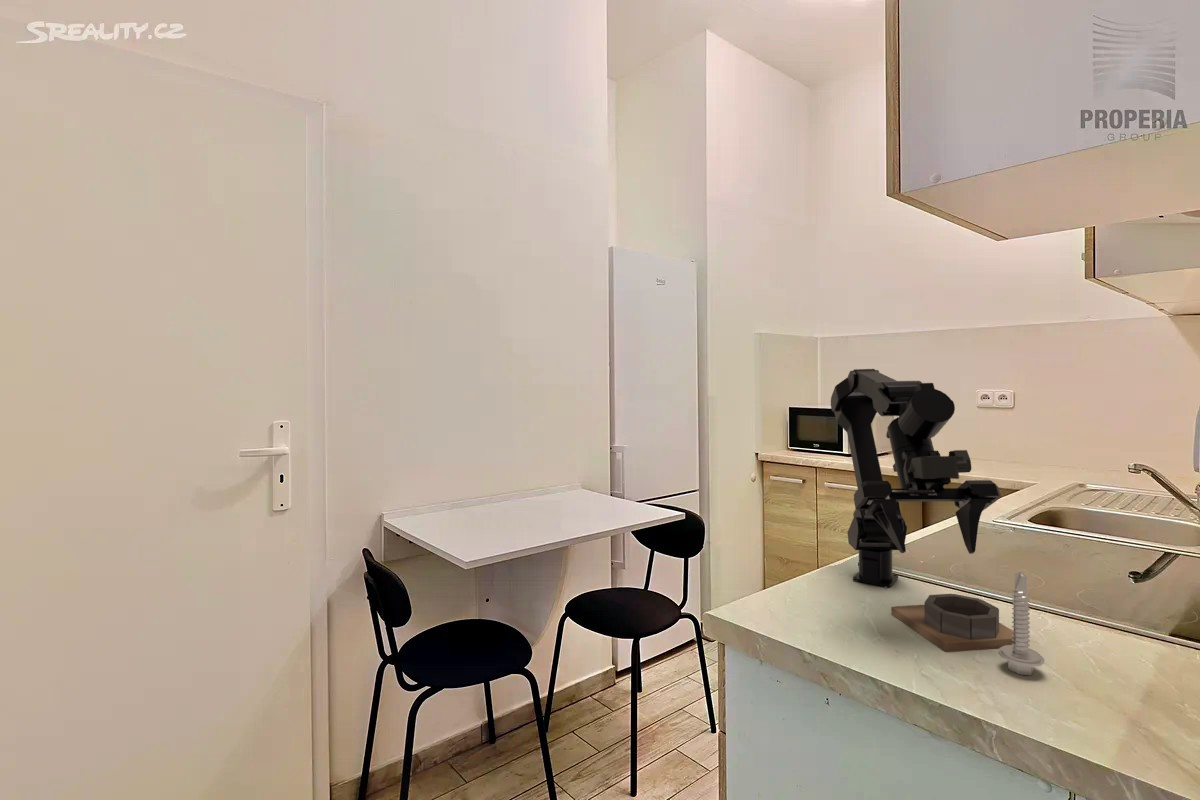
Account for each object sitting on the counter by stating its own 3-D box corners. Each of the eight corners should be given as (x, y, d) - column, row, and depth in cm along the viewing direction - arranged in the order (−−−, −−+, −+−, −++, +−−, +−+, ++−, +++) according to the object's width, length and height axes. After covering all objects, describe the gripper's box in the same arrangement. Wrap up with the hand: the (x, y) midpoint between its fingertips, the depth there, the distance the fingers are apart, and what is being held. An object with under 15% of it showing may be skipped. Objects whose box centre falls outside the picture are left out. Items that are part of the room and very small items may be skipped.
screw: (993, 659, 79) (1035, 664, 77) (1005, 677, 74) (1050, 682, 73) (993, 564, 78) (1035, 567, 77) (1005, 576, 74) (1050, 580, 72)
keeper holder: (891, 613, 94) (891, 588, 94) (961, 609, 95) (961, 583, 95) (945, 651, 81) (945, 622, 81) (1026, 645, 82) (1026, 616, 82)
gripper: (864, 430, 85) (885, 535, 77) (1002, 428, 82) (1038, 536, 75) (845, 461, 94) (863, 557, 87) (969, 459, 92) (998, 559, 84)
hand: (937, 552), depth 83 cm, fingers open, 9 cm apart
